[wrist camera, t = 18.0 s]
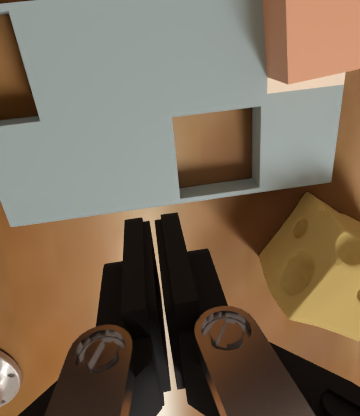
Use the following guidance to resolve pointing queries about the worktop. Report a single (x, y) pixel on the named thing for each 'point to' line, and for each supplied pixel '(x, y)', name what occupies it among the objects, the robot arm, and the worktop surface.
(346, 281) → the cheese
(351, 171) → the worktop surface
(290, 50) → the block
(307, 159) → the trap deck
